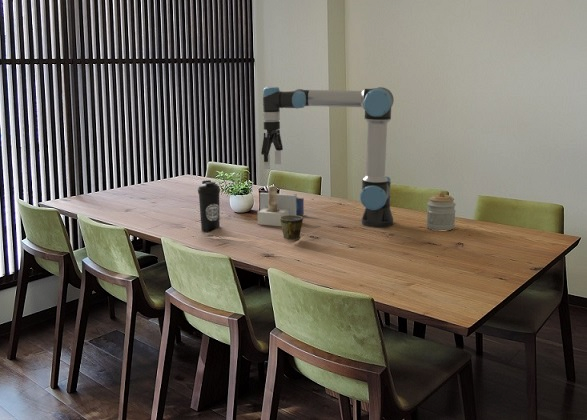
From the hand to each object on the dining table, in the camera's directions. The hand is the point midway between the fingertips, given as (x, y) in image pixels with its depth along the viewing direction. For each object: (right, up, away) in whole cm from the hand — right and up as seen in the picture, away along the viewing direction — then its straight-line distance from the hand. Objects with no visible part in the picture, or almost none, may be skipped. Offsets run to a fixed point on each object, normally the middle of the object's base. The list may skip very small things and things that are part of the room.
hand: (272, 166), depth 330 cm
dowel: (0, -25, +6) cm, 26 cm away
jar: (+78, -29, -2) cm, 83 cm away
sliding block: (0, -26, +6) cm, 27 cm away
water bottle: (-29, -30, 0) cm, 42 cm away
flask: (+11, -23, +28) cm, 38 cm away
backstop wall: (-1, -29, +3) cm, 29 cm away
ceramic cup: (+9, -34, -20) cm, 41 cm away
